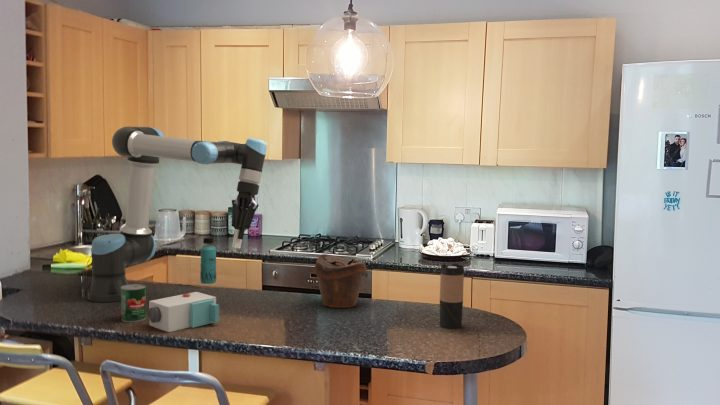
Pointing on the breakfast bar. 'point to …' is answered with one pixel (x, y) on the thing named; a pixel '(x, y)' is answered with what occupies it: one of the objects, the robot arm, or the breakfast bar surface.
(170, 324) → the block
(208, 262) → the beverage bottle
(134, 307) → the canned tomato
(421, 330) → the breakfast bar surface
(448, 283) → the travel mug
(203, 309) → the door
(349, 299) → the brown tapered cylinder
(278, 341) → the breakfast bar surface
